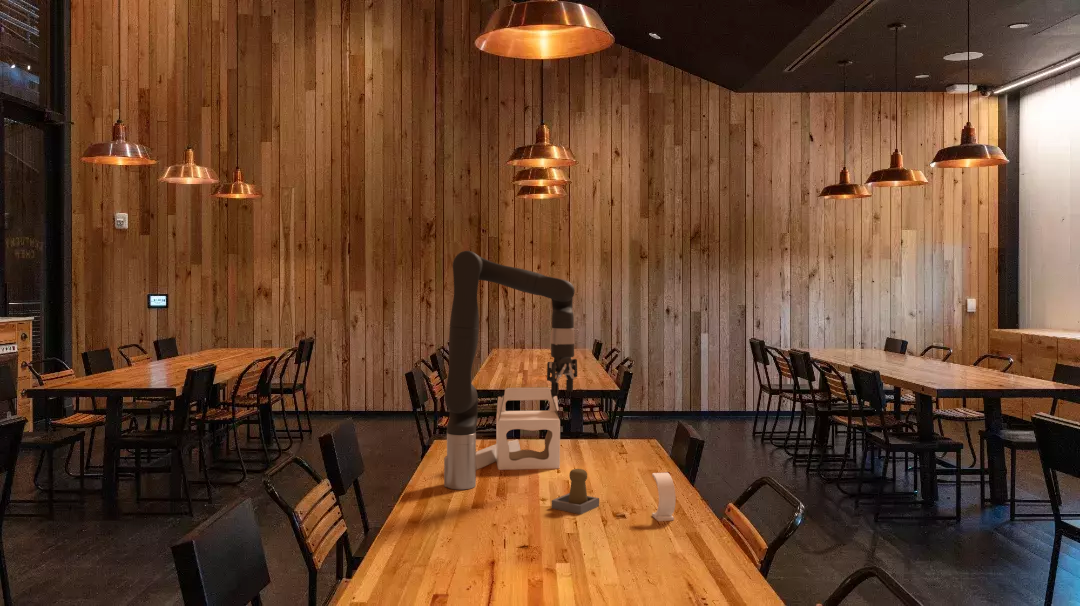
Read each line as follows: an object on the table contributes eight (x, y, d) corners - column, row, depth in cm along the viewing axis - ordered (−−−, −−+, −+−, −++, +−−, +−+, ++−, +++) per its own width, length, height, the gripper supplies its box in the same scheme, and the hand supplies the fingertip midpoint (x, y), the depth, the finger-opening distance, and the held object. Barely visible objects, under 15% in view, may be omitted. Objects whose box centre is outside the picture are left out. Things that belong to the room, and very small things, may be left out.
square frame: (551, 508, 214) (551, 500, 214) (570, 500, 222) (570, 492, 222) (580, 514, 208) (581, 506, 208) (599, 505, 216) (599, 498, 216)
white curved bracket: (667, 514, 208) (667, 472, 208) (675, 521, 202) (675, 477, 202) (651, 515, 207) (652, 473, 207) (659, 522, 201) (660, 478, 201)
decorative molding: (454, 475, 263) (477, 470, 259) (451, 461, 264) (474, 456, 259) (499, 455, 294) (520, 451, 290) (496, 443, 294) (518, 439, 290)
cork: (566, 504, 218) (566, 467, 217) (586, 503, 218) (586, 466, 218) (569, 510, 212) (569, 472, 211) (590, 510, 212) (590, 472, 212)
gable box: (555, 460, 274) (555, 384, 274) (560, 468, 261) (560, 389, 261) (495, 461, 272) (495, 385, 271) (497, 470, 259) (497, 390, 258)
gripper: (565, 340, 245) (564, 389, 245) (540, 343, 234) (540, 394, 234) (584, 341, 241) (583, 391, 241) (560, 344, 229) (559, 396, 230)
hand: (562, 392), depth 238 cm, fingers open, 8 cm apart
